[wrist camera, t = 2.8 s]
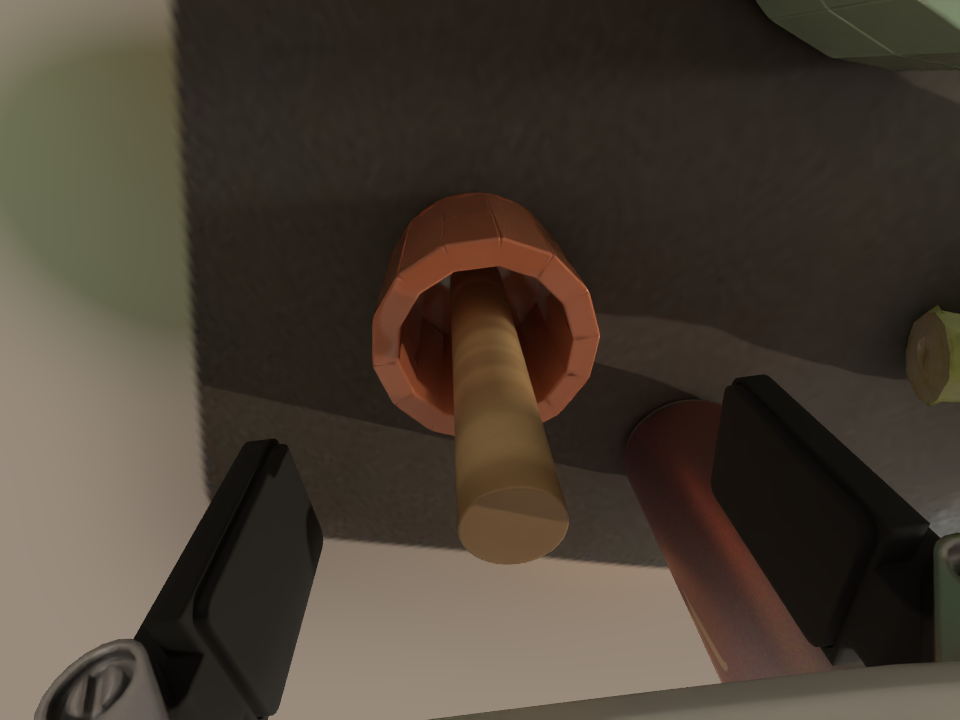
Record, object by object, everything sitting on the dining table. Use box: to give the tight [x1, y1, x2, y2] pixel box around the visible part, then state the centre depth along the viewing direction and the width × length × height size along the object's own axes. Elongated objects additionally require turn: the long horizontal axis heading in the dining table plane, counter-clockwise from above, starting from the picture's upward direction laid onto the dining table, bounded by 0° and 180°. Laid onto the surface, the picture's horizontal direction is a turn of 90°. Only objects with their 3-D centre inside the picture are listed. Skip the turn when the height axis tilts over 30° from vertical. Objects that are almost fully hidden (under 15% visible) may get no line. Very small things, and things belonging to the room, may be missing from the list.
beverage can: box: [623, 399, 866, 683], centre depth 18 cm, size 6×6×15 cm
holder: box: [372, 192, 600, 436], centre depth 17 cm, size 7×7×6 cm
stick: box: [450, 267, 569, 564], centre depth 14 cm, size 2×2×12 cm
